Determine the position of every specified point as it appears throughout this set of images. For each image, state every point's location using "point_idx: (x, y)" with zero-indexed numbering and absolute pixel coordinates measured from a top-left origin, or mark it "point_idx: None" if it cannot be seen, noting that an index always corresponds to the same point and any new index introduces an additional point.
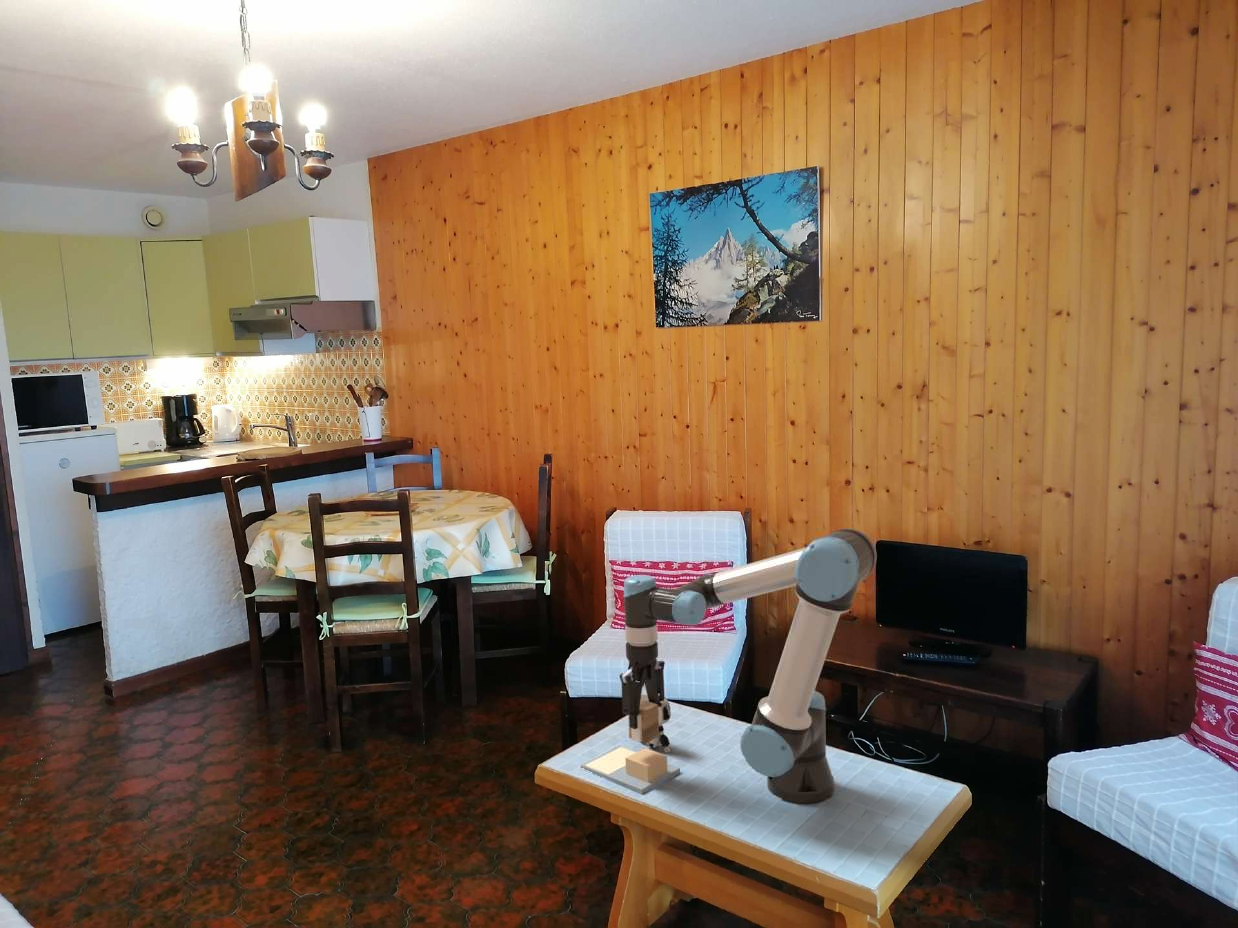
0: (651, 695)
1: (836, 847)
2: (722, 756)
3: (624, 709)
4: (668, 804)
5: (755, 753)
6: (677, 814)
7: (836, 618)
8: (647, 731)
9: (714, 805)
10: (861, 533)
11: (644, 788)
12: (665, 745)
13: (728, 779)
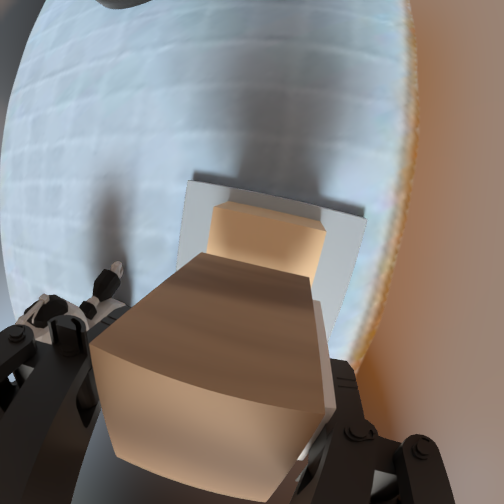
0: (66, 444)
1: None
2: (82, 139)
3: (394, 498)
4: (377, 123)
5: None
6: (406, 85)
7: None
8: (285, 296)
9: (317, 23)
10: None
11: (353, 215)
12: (116, 276)
13: (173, 56)
